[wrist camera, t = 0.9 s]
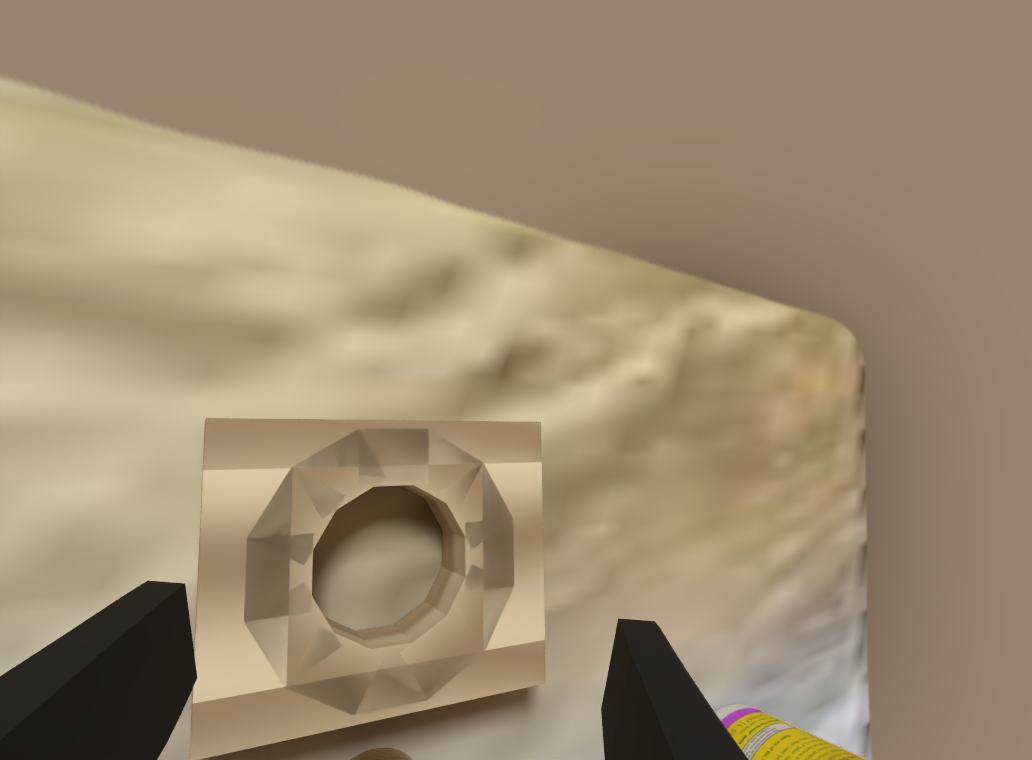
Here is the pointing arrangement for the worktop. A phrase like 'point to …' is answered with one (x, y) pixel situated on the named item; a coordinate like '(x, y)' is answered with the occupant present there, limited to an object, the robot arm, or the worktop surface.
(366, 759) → the brass round peg
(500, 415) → the worktop surface
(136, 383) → the worktop surface
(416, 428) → the jig
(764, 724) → the supplement bottle
